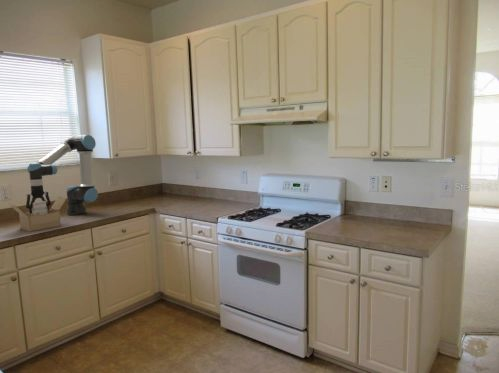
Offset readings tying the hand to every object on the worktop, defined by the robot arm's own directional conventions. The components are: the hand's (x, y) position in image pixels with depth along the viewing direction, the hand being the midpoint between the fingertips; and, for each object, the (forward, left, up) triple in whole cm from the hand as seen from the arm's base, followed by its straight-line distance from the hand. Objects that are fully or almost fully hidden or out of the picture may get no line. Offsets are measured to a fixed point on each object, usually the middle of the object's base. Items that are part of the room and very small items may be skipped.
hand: (39, 216), depth 273 cm
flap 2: (-10, 0, +3) cm, 11 cm away
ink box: (0, 0, -1) cm, 1 cm away
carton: (0, 0, -8) cm, 8 cm away
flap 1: (+10, 0, +3) cm, 11 cm away
